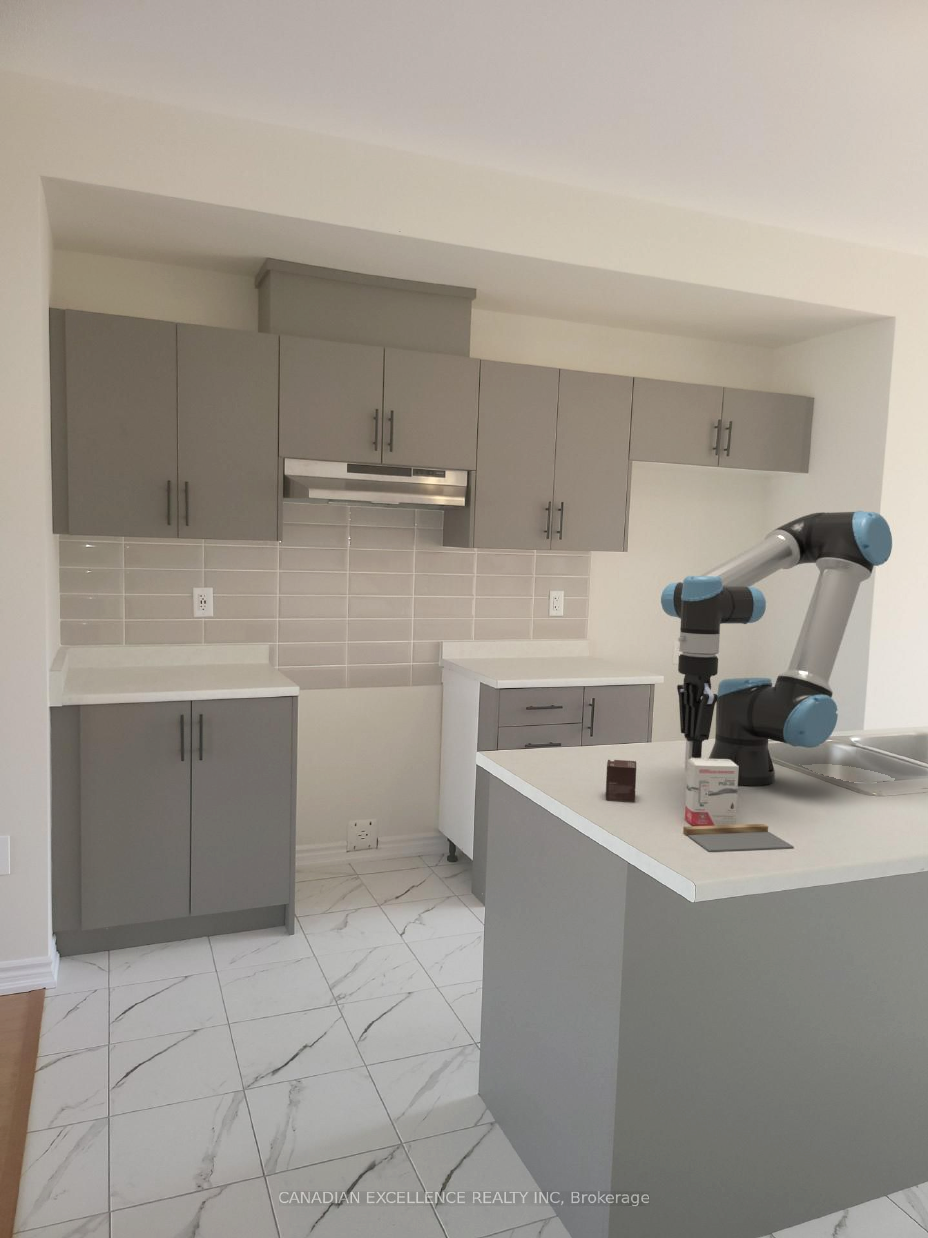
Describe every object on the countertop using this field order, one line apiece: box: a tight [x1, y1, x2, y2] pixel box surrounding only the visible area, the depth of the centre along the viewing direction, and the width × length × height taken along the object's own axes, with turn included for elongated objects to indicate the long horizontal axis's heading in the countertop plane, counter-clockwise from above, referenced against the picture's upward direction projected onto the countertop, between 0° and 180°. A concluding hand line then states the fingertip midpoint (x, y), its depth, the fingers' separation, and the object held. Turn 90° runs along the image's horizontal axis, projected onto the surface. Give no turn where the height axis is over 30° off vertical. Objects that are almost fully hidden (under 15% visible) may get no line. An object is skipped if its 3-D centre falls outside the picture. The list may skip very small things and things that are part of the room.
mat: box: [687, 831, 795, 853], centre depth 154 cm, size 16×8×1 cm, turn 101°
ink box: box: [684, 757, 739, 826], centre depth 165 cm, size 9×5×12 cm, turn 92°
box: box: [605, 759, 637, 803], centre depth 180 cm, size 6×6×7 cm
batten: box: [682, 823, 769, 837], centre depth 159 cm, size 16×2×1 cm, turn 101°
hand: (692, 772), depth 172 cm, fingers closed
